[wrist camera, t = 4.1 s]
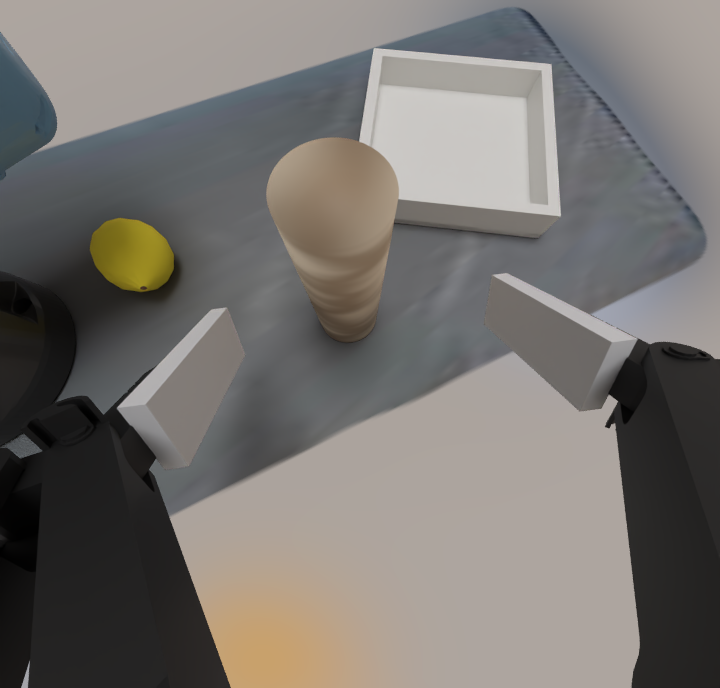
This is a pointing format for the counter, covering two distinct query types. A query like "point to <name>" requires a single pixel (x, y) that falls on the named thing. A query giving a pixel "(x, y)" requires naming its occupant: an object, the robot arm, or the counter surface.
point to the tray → (466, 140)
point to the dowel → (337, 228)
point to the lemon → (132, 255)
